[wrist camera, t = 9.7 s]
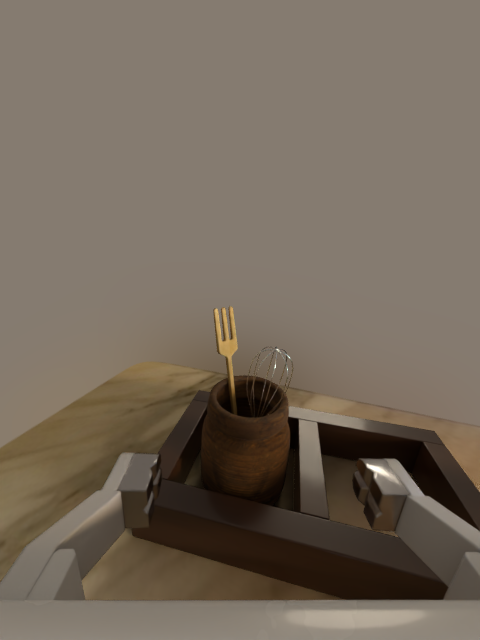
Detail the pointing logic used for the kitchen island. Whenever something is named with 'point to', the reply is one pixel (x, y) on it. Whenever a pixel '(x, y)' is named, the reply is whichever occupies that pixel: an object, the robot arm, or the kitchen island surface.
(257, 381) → the utensil holder
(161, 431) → the kitchen island surface
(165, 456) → the rack
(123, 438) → the kitchen island surface
